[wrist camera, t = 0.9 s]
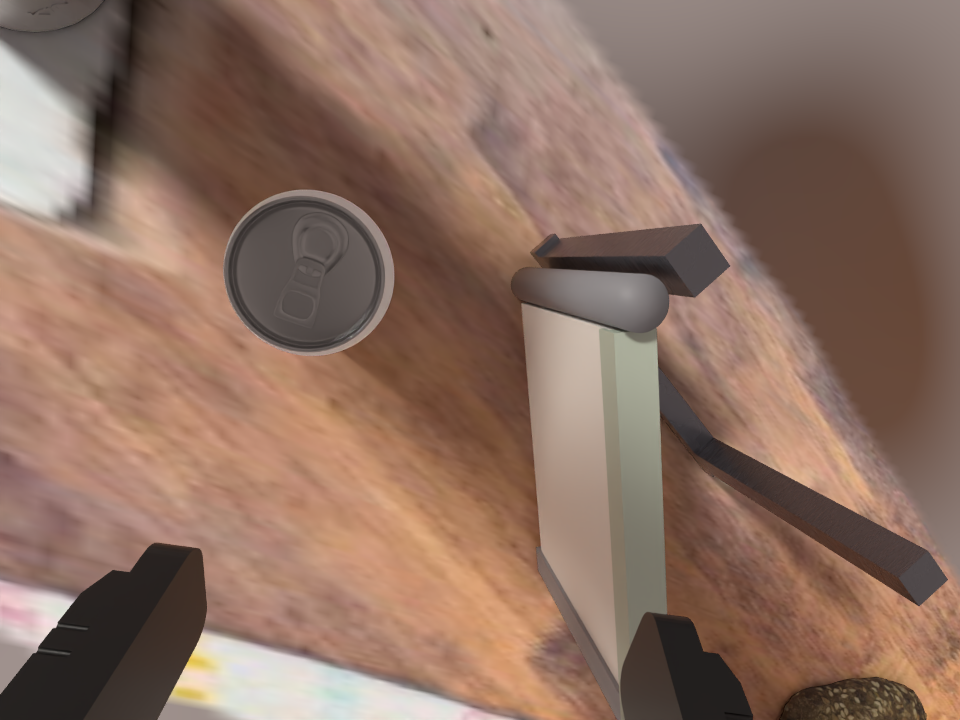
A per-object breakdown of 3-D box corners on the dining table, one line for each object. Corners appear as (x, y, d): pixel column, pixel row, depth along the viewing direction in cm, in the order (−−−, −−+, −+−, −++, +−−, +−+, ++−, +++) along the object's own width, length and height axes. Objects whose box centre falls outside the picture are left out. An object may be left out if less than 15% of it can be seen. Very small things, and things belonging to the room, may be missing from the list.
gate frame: (530, 252, 34) (658, 247, 19) (550, 234, 34) (695, 215, 19) (704, 471, 39) (922, 611, 24) (722, 455, 39) (951, 585, 24)
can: (404, 235, 33) (421, 223, 21) (367, 342, 34) (363, 386, 22) (290, 192, 32) (242, 153, 20) (254, 304, 32) (186, 330, 21)
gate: (509, 268, 34) (612, 277, 19) (542, 265, 34) (668, 270, 20) (535, 570, 38) (637, 768, 23) (564, 564, 38) (684, 756, 23)
